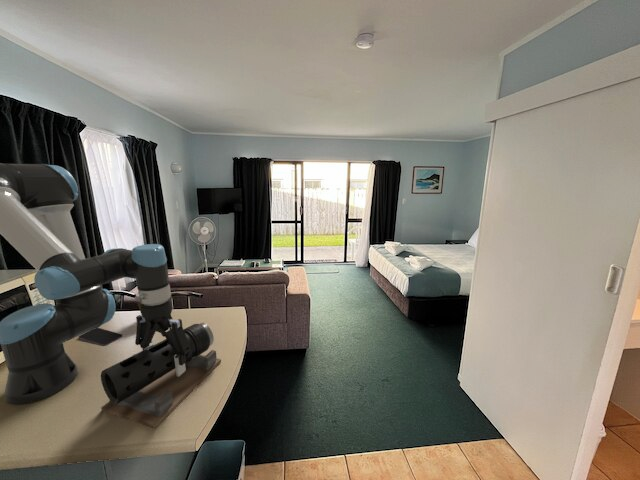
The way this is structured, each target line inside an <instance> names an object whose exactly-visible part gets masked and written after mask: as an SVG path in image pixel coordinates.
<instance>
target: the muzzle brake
mask: <svg viewBox="0 0 640 480" xmlns="http://www.w3.org/2000/svg"><path fill="white" fill-rule="evenodd" d="M183 330H184V332H185V335H186V337H187V340H188V342H189V345H190V347H191V350H190V351H189V352H188V353H187V354H185V356H186V363H187V362H189V361H190V360H192V357H197V356H198V355H203V353H205V352H207V351H208V350H209V349H210V347H211V346H212V345H214V340H215V338H214V334H213V331H212V329H211V328H210V327H209V325H208V324H207V323H205V322H200V323H194V324H192V325H190V326H188V327H185V328H183ZM179 351H180V350H179ZM175 355H176V354H175V352H174V350H173V349H172V347H171V345H170V344H169V342H168V341H167V339H166V338H165V339H163V340H162V341H159V342H157V343H155V344H153V346H151V347H149V348H147V349H145V350H143V349H142V350H141V351H139V352H137V353H135V354H133V355H132V356H129V357H127V358H126V359H123V360H121V361H120V362H118V363H115V364H113V365H111V366H109V367H107V368H105V369H103V370H102V371H101V372H100V382H101V384H102V385H101V386H102V388H103V390H104V393H105V394H106V396H108V397H107V398H108V400H109V399H110V400H111V401H112V402H113V403H114V404H118V403H120V402H121V401H123V400H125V399H126V398H128V397H129V396H131V395H133V394H134V393H136V392H138V391H139V390H141V389H143V388H144V387H146V386H148V385H149V384H151V383H153V382H154V381H155V380H157V379H159V378H161V377H162V376H164V375H165V374H167V373H169V372H170V371H172V370H174V369H175V368H176V367H175V360H174V356H175ZM110 400H109V401H110Z"/></svg>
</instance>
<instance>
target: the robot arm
mask: <svg viewBox="0 0 640 480" xmlns="http://www.w3.org/2000/svg"><path fill="white" fill-rule="evenodd" d="M78 192H79V187H78V184H77V182H76V180H75V178H74V177H73V175H72V174H71V173H70V172H69V171H68V170H67V169H65V168H64V167H62V166H59V165H55V164H54V165H52V164H46V163H1V162H0V235H1V236H2V237H3V238H4V239H5V240H6V241H7V242H8V243H9V244H10V245H11V247H13V248H14V249H15V250H16V251H17V252H18V253H19V254H20V255H21V256H22V257H23V258H24V259H25V260H26V261H27V262H28V263H29V264H30V265H31V266H32V267H33V268H35V270H36V273H35V274H34V278H33V279H34V280H33V281H34V285H35V288H36V289H37V290H38V294H40V296H41V297H43V298H44V299H46V300H48V301H55V305H54V304H52V303H49V302H47V303H45V302H44V303H38V304H35V305H30V306H26V307H24V308H20V309H17V310H16V311H14V312H12V313H10V314H8V315H7V316H5V317H3V318H2V320H1V321H0V347H1V351H2V353H3V357H4V361H5V363H6V367H7V370H8V375H7V380H6V384H5V389H4V394H5V399H6V401H7V403H9V404H11V405H12V404H13V405H23V404H25V405H26V404H29V403H33V402H37V401H40V400H42V399H46V398H48V397H50V396H52V395H54V394H56V393H58V392H60V391H61V390H63V389H65V388H66V387H68V386H69V385H70V384H71V383H72V382H74V380H75V379H76V378H77V376H78V367H77V365H76V363H75V362H74V361H73V360H72V359H71V358H70V356H69V355H68V354H67V353H66V351H65V345H64V344H65V343H66V342H67V341H70V340H72V339H75V338H78V337H79V336H80V335H82V334H84V333H86V332H88V331H90V330H92V329H95V328H101V326H103V325H104V324H107V323H109V322H110V321H111V320H112V319H113V317H114V315H116V314H115V313H116V302H115V298H114V296H113V294H112V293H111V291H110V290H108V289H107V288H102V285H105V284H109V283H111V282H115V281H119V280H120V279H123V278H129V279H133V280H134V279H135V282H136V286H137V290H138V292H137V293H139V299H140V303H141V305H140V307H141V312H140V314H138V315H137V316H136V317H135V319H136V332H135V340H134V341H135V342H134V344H135V345H136V346H140V348H141V349H142V351H143V350H145V349H147V348H149V347H151V346H153V345H154V344H153V341H152V340H153V338H154V336H155V335H156V333H159V334H161V336H162V337H164V338H165V339H167V341H168V342H169V344H170V345H171V347H172V349H173V350H174V352H175V354H176V355H175V356H174V360H175V367H176V375H177V376H178V377H179V376H180V375H181V374H182V373H184V372H185V371H186V367H185V363H186V356H185V354H187V353H188V352H189V351H190V350H191V347H190V345H189V342H188V340H187V337H186V335H185V332H184V328H183V320H182V319H181V318H178V319H173V316H172V313H173V312H172V311H174V310H173V308H174V307H173V300H172V298H171V297H172V292H171V285H170V278H169V271H168V263H167V261H168V258H167V256H166V251H165V248H164V246H163V245H162V244H159V243H153V244H151V243H148V244H141V245H138V246H135V247H133V248H132V249H127V248H109V249H107V250H106V251H104V252H103V253H102V254H100V255H95V256H91V257H87V258H86V256H85V254H84V250H83V248H82V247H83V246H82V245H81V242H80V238H79V235H78V233H77V230H76V226H75V224H74V221H73V218H72V215H71V210H72V209H73V207H75V206H74V205H75V204H74V201H76V200H77V199H78V197H79V193H78ZM141 313H142V314H141ZM179 350H180V351H179Z"/></svg>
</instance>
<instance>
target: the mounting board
mask: <svg viewBox="0 0 640 480" xmlns="http://www.w3.org/2000/svg"><path fill="white" fill-rule="evenodd" d="M220 363H222V359H221V358H217V351H216V350H213V349H211V350H210V351H208V353H207V354H206V355H205V354H204V355H203V354H200V355H198V356H197V357H192V360H190V361H189V362H187V363H185V367H186V371H185V372H184V373H182V374H181V375H180V376H179V377H178V376H177V375H176V368H175V369H174V370H172V371H170V372H169V373H167V374H165V375H164V376H162V377H161V378H159V379H157V380H155V381H154V382H153V383H151V384H149V385H148V386H146V387H144V388H143V389H141V390H139V391H138V392H136V393H134V394H133V395H131V396H129V397H128V398H126V399H125V400H123V401H121V402H120V403H118V404H114V403H113V402H112V401H111V400H110V399H109V398H108V396H107V395H106V396H107V398H108V400H109V401H108V402H106V403H105V404H104V405H102V406H101V407H100V409H101V412H105V413H107V414H111V415H114V416H116V417H119V418H122V419H126V420H128V421H129V420H130V421H133V422H135V423H138V424H142V425H144V426H147V427H150V428H154V429H156V428H157V427H159V425H160V424H161V423H162V422H164V421H165V419H166V418H167V417H168V416H169V415H170V414H171V413H172V412H173V411H174V410H175V409H176V408H178V406H179V405H180V404H182V402H183V401H184V400H185V399H186V398H187V397H188V396H189V395H190V394H191V393H192V392H193V391H194V390H195V389H196V388H197V387H198V386H199V385H200V384H201V383H202V382H203V381H204V380H205V379H204V378H206V377H208V375H210V374H211V373H212V372H213V371H214V370H215V369H216V367H218V366H219V364H220ZM199 383H200V384H199ZM197 385H198V386H197ZM196 386H197V387H196ZM195 387H196V388H195ZM194 388H195V389H194ZM193 389H194V390H193Z"/></svg>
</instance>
